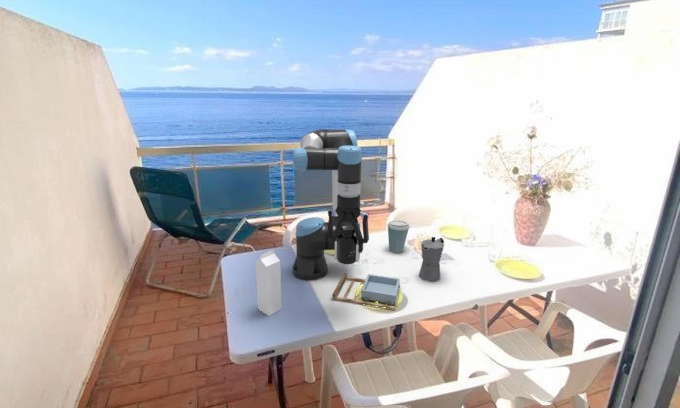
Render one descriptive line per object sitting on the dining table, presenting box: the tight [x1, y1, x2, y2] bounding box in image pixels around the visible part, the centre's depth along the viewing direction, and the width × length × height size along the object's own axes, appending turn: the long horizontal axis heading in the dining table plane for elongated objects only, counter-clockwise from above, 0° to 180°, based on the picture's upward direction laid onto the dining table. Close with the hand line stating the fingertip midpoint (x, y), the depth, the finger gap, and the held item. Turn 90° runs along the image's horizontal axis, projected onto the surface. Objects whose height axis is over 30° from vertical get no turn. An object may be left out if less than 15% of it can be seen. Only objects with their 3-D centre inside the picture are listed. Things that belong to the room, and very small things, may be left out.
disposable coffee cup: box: [386, 219, 410, 254], centre depth 168 cm, size 11×11×15 cm
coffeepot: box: [418, 236, 445, 283], centre depth 144 cm, size 15×9×18 cm, turn 136°
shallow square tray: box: [360, 273, 401, 306], centre depth 131 cm, size 13×14×4 cm
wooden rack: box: [331, 272, 401, 312], centre depth 132 cm, size 23×17×2 cm
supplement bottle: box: [336, 226, 358, 265], centre depth 117 cm, size 7×7×12 cm
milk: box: [254, 249, 283, 317], centre depth 118 cm, size 6×6×22 cm
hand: (347, 258), depth 118 cm, fingers closed on supplement bottle, 7 cm apart
